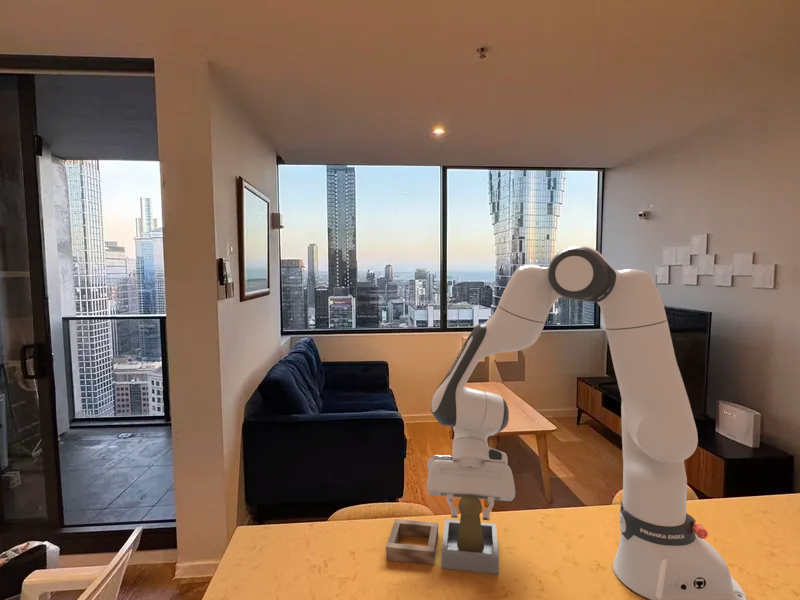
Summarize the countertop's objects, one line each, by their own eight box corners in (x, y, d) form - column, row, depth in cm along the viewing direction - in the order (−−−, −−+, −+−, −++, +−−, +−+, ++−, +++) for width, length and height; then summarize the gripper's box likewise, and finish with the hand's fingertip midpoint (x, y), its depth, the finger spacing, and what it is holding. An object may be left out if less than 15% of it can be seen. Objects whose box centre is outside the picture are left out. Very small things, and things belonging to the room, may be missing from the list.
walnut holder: (438, 534, 101) (438, 522, 101) (434, 564, 91) (433, 551, 91) (395, 530, 103) (395, 519, 103) (386, 559, 93) (386, 546, 92)
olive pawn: (484, 556, 91) (483, 507, 90) (456, 553, 92) (455, 504, 92) (484, 539, 97) (483, 493, 96) (458, 536, 98) (457, 490, 97)
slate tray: (495, 538, 99) (495, 523, 99) (498, 574, 88) (498, 557, 87) (445, 533, 102) (445, 519, 101) (441, 568, 90) (441, 552, 90)
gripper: (426, 449, 102) (422, 510, 93) (513, 454, 98) (517, 518, 89) (429, 459, 107) (425, 518, 98) (511, 464, 103) (515, 525, 94)
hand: (470, 518), depth 93 cm, fingers open, 6 cm apart
